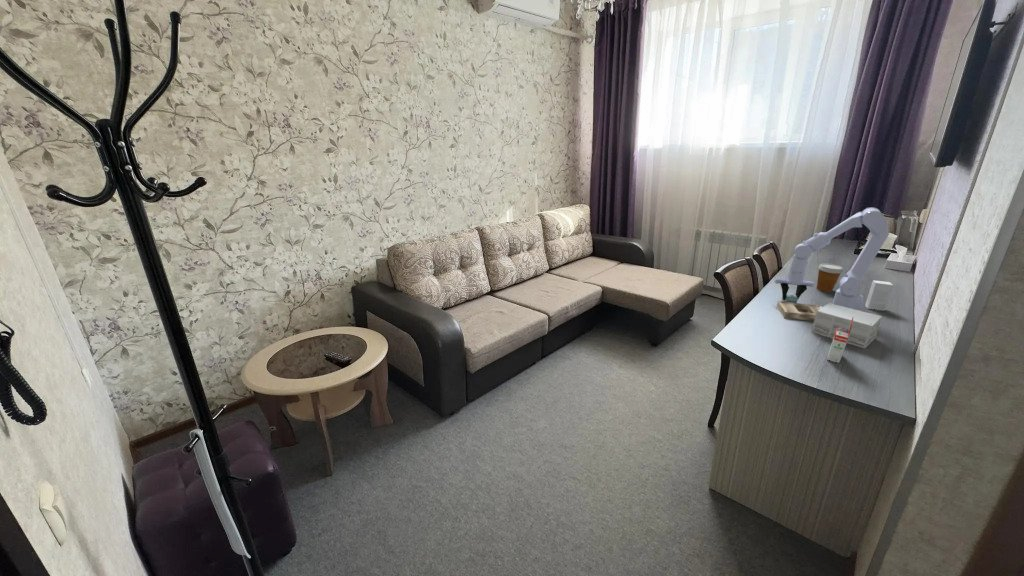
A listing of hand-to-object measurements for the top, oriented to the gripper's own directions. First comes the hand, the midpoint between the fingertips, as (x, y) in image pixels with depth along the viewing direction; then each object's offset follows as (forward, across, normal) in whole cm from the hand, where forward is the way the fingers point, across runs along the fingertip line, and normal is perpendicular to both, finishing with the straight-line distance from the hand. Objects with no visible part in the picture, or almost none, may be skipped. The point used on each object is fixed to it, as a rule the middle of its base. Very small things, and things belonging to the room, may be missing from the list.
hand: (789, 299), depth 184 cm
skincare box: (+2, -34, -6) cm, 35 cm away
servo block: (+2, 0, 0) cm, 2 cm away
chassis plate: (+2, -2, +12) cm, 12 cm away
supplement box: (+2, -11, +28) cm, 31 cm away
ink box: (+2, -2, +49) cm, 49 cm away
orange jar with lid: (+2, -21, -25) cm, 33 cm away
